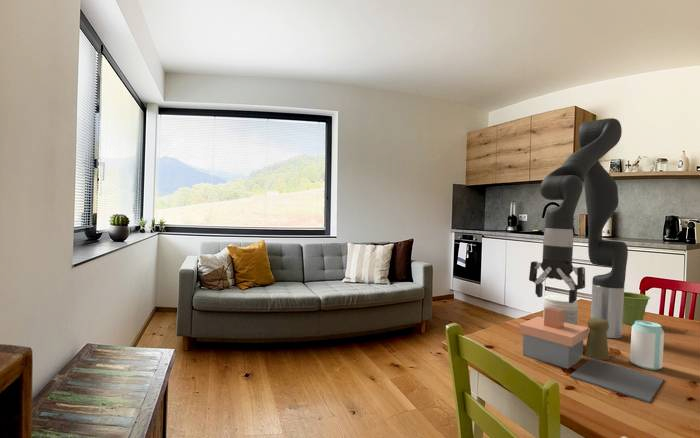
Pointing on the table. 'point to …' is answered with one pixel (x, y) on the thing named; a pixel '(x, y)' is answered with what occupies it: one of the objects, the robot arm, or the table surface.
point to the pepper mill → (597, 339)
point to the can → (647, 345)
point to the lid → (554, 328)
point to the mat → (619, 379)
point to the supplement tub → (563, 307)
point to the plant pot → (634, 307)
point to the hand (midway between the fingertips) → (555, 299)
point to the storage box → (552, 351)
